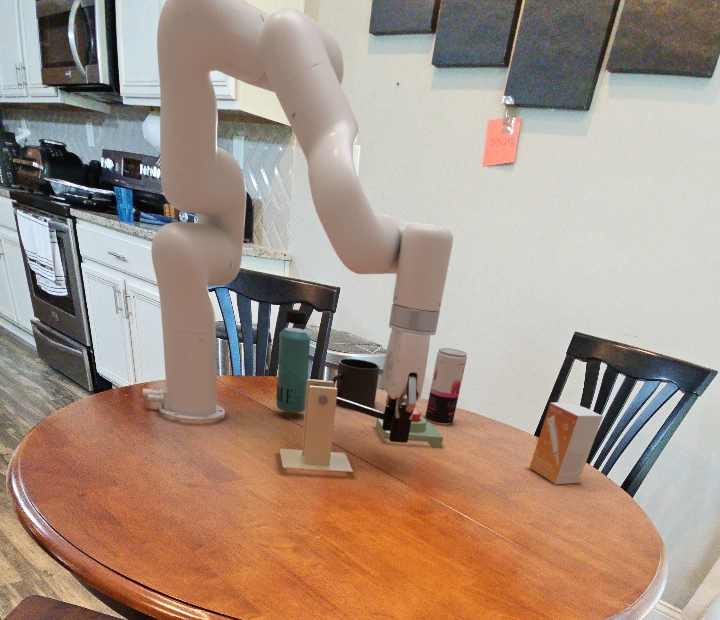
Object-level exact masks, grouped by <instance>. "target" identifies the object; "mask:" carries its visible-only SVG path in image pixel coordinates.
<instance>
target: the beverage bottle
mask: <svg viewBox="0 0 720 620" xmlns="http://www.w3.org/2000/svg"><path fill="white" fill-rule="evenodd" d="M284 319H285V320H284V321H285V322H286V323H289V324H293V325H294V324H295V325H307V311H303V310H300V309H292V308H291V309H286V311H285V317H284ZM278 337H279V345H278V346H279V347H278V354H277V358H278V361H277V381H276V382H277V384H276V397H275V398H276V399H275V401H276V402H275V404H276V407H277V409H279V410H280V411H284V412H287V413H304V412H305V401H306V388H307V379H309V378H308V377H309V373H308V372H309V364H310V363H309V361H310V349H311V348H310V347H311V339H312V338H311V336H310V333H308V331H306V330H305V329H302V328H297V327H285V328H283V329H282V330H281V331H280V332H279V335H278Z"/></svg>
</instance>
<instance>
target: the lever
mask: <svg viewBox="0 0 720 620" xmlns="http://www.w3.org/2000/svg"><path fill="white" fill-rule="evenodd" d="M314 386H320V385H317V384H314ZM336 406H340V407H342V408H344V407H345V409H348V410H352V411H354V412H358V413H360V414H364V415H367V416H370V417H373V418H376V419H377V418H379V419H382V420H385V421H388V422H391V424H392V418H393V417H395V411H392V413H391V415H390V414H387V413H385V411H380V410H378V409H374V408H369V407H366V406H363V405H360V404H357V403H354V402H351V401H348V400H345V399H342V398H339V397H337V399H336Z"/></svg>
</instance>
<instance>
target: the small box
mask: <svg viewBox="0 0 720 620" xmlns="http://www.w3.org/2000/svg"><path fill="white" fill-rule="evenodd" d="M548 405H549V406H548V409H547V412H546V414H545V418H544V420H543V423H542V424H543V425H542V427H541V431H540V434H539V437H538V440H537V444H536V447H535V450H534V453H533V457H532V459H531V462H530V466H529V469H530V470H532V471H534V472H535V473H536V474H539V475H540V476H541V477H542V478H543V477H544V478H545V479H546V480H548V481H549V482H551V483H552V484H554V485H565V484H578V483H579V482H580V480H581V477H582V474H583V472H584V469H585V466H586V463H587V460H588V458H589V455H590V453H591V450H592V448H593V445H594V442H595V438H596V437H597V433H598V431H599V428H600V425H601V423H602V420H603V418H604V415H602V414H599V413H598V412H595V411H593V410H592V409H590V408H588V407H584V406H582V405H579V404H577V403H576V402H566V401H565V402H564V401H563V402H555V401H554V402H549V404H548Z"/></svg>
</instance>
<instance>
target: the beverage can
mask: <svg viewBox="0 0 720 620" xmlns="http://www.w3.org/2000/svg"><path fill="white" fill-rule="evenodd" d="M467 355H468V353H467V352H465V351H463V350H460V349H455V348H449V347H440V348H438V351H437V354H436V358H435V364H434V369H433V373H432V380H431V384H430V389H429V395H428V401H427V406H426V411H425V416H424V417H425V419H426V420H427V422H431V423H432V424H436V425H440V426H449V425H451V424H452V423H453V422H454V418H455V414H456V410H457V405H458V401H459V395H460V392H461V387H462V383H463V378H464V372H465V370H466V369H465V368H466V364H467V359H468V357H467Z"/></svg>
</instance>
